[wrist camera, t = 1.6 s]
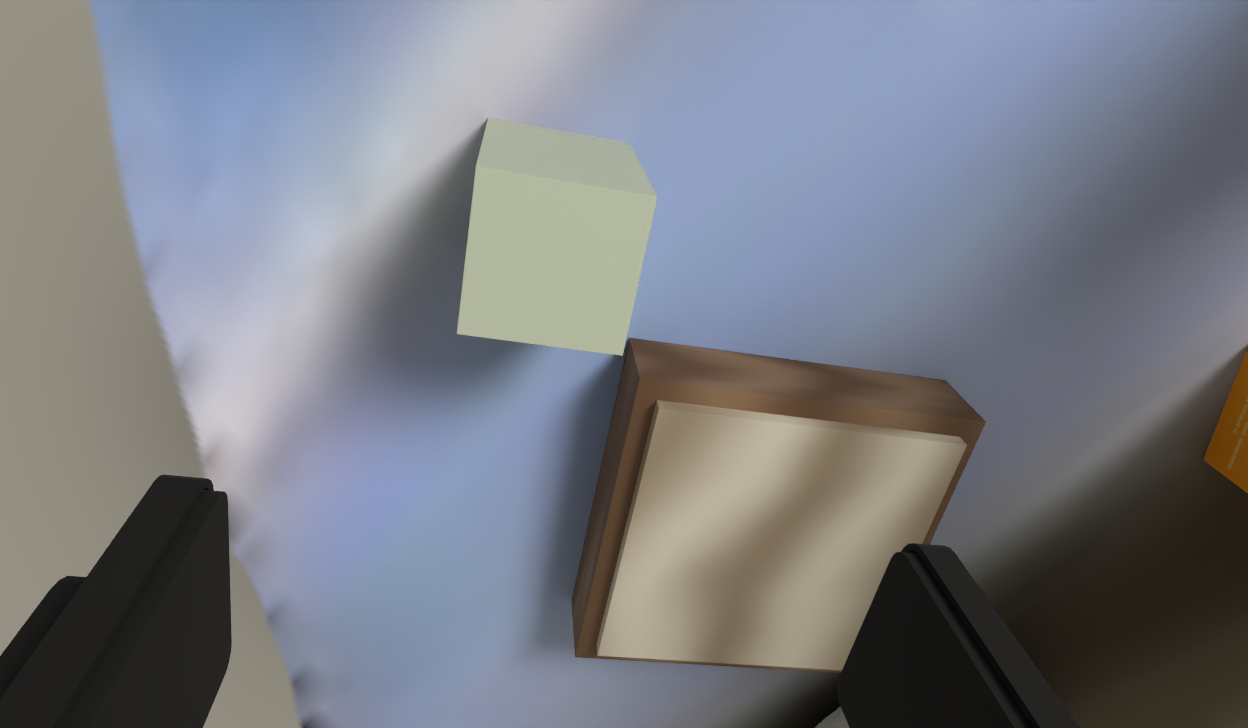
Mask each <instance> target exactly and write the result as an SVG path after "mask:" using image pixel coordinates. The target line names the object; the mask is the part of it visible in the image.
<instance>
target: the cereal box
mask: <svg viewBox="0 0 1248 728" xmlns="http://www.w3.org/2000/svg"><path fill="white" fill-rule="evenodd" d="M1203 460H1204V461H1205V462H1207V463H1208V464H1209V465H1211V466H1212V467H1213V468H1215V469H1216V470H1217V471H1219V472H1220V473H1221V474H1223V475H1224V476H1225V477H1227V478H1228V479H1229V480H1231V481H1232V482H1233V483H1234V484H1236V485H1237V486H1238V487H1240V488H1241V489H1242V490H1244V491H1245V492H1246V493H1248V349H1247V351H1246V354H1245V356H1244V359H1243V361H1242V364H1241V366H1240V369H1239V371H1238V374H1237V376H1236V379H1235V381H1234V384H1233V386H1232V389H1231V391H1230V394H1229V396H1228V399H1227V401H1226V404H1225V407H1224V409H1223V412H1222V414H1221V417H1220V419H1219V422H1218V424H1217V427H1216V429H1215V432H1214V434H1213V437H1212V439H1211V442H1210V444H1209V447H1208V449H1207V452H1206V454H1205V457H1204V459H1203Z"/></svg>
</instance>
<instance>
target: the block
mask: <svg viewBox="0 0 1248 728" xmlns="http://www.w3.org/2000/svg"><path fill="white" fill-rule="evenodd" d="M656 201H657V195H656V193H655V191H654V189H653V187H652V185H651V183H650V181H649V179H648V177H647V175H646V174H645V172H644V170H643V168H642V166H641V164H640V162H639V160H638V158H637V156H636V154H635V152H634V150H633V148H632V147H631V145H630V143H626V142H620V141H615V140H609V139H604V138H598V137H593V136H587V135H582V134H576V133H571V132H565V131H559V130H554V129H548V128H543V127H537V126H532V125H526V124H521V123H515V122H510V121H504V120H499V119H493V118H488V121H487V125H486V128H485V132H484V136H483V140H482V144H481V148H480V152H479V156H478V160H477V164H476V170H475V178H474V187H473V196H472V205H471V213H470V222H469V231H468V240H467V249H466V257H465V266H464V275H463V284H462V292H461V301H460V310H459V319H458V328H457V334H461V335H468V336H476V337H484V338H491V339H499V340H506V341H514V342H522V343H529V344H537V345H545V346H552V347H560V348H568V349H575V350H583V351H591V352H598V353H606V354H613V355H621V356H623V352H624V348H625V343H626V339H627V334H628V329H629V325H630V320H631V316H632V311H633V307H634V302H635V297H636V293H637V288H638V284H639V279H640V274H641V270H642V265H643V261H644V256H645V252H646V247H647V242H648V238H649V233H650V229H651V224H652V219H653V215H654V210H655V206H656Z"/></svg>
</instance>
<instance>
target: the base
mask: <svg viewBox="0 0 1248 728" xmlns="http://www.w3.org/2000/svg"><path fill="white" fill-rule="evenodd" d="M985 423H986V422H985V421H984V420H983V419H982V418H981V416H980V415H979V414H978V413H977V412H976V411H975V410H974V409H973V408H972V407H971V406H970V405H969V404H968V403H967V402H966V401H965V400H964V399H963V398H962V397H961V396H960V395H959V394H958V393H957V392H956V391H955V390H954V389H953V388H952V387H951V386H950V385H949V384H948V382H947V381H944V380H937V379H929V378H922V377H914V376H907V375H900V374H892V373H885V372H877V371H870V370H863V369H855V368H848V367H840V366H833V365H826V364H818V363H811V362H803V361H796V360H789V359H781V358H774V357H766V356H759V355H752V354H744V353H737V352H729V351H722V350H715V349H707V348H700V347H692V346H685V345H678V344H670V343H663V342H656V341H648V340H641V339H633V338H629V343H628V347H627V352H626V356H625V361H624V366H623V370H622V375H621V379H620V384H619V388H618V393H617V397H616V402H615V406H614V411H613V416H612V420H611V425H610V429H609V434H608V438H607V443H606V447H605V452H604V456H603V461H602V466H601V470H600V475H599V479H598V484H597V488H596V493H595V497H594V502H593V506H592V511H591V516H590V520H589V525H588V529H587V534H586V538H585V543H584V547H583V552H582V556H581V561H580V566H579V570H578V575H577V579H576V584H575V588H574V593H573V597H572V614H573V629H574V645H575V657H583V658H600V659H617V660H633V661H650V662H667V663H683V664H700V665H717V666H733V667H750V668H767V669H783V670H800V671H817V672H834V673H841V671H842V669H843V667H844V664H845V662H846V660H847V658H848V655H849V653H850V651H851V648H852V646H853V644H854V642H855V639H856V637H857V635H858V632H859V630H860V628H861V626H862V623H863V621H864V619H865V616H866V614H867V612H868V610H869V607H870V605H871V603H872V600H873V598H874V596H875V594H876V591H877V589H878V587H879V584H880V582H881V580H882V578H883V575H884V573H885V571H886V568H887V566H888V564H889V562H890V559H891V558H892V556H893V555H894V554H895V553H896V552H901V551H902V549H903V548H904V547H905V546H906V545H907V544H911V543H917V544H928V545H929V544H930V542H931V540H932V537H933V535H934V533H935V531H936V529H937V527H938V524H939V522H940V520H941V518H942V516H943V514H944V511H945V509H946V507H947V505H948V503H949V501H950V498H951V496H952V494H953V492H954V490H955V488H956V485H957V483H958V481H959V479H960V477H961V475H962V472H963V470H964V468H965V466H966V464H967V462H968V459H969V457H970V455H971V453H972V451H973V449H974V446H975V444H976V442H977V440H978V438H979V436H980V433H981V431H982V429H983V427H984V425H985Z"/></svg>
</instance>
